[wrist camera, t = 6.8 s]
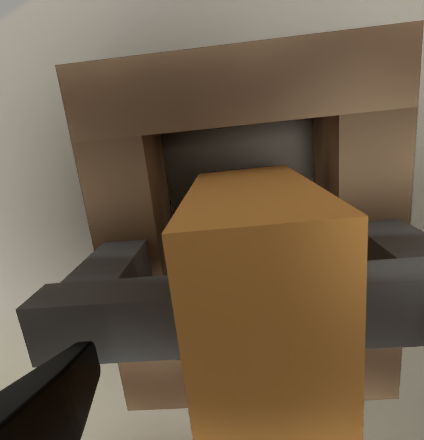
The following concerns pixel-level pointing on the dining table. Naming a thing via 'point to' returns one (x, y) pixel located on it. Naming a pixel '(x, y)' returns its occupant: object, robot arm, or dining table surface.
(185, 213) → the orange arch block
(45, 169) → the dining table surface
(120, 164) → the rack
